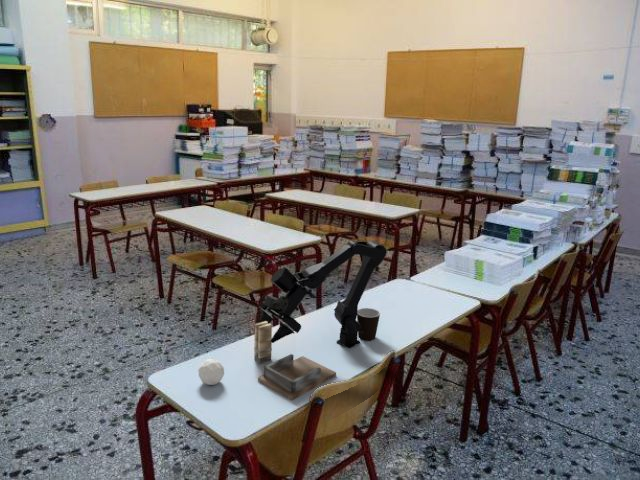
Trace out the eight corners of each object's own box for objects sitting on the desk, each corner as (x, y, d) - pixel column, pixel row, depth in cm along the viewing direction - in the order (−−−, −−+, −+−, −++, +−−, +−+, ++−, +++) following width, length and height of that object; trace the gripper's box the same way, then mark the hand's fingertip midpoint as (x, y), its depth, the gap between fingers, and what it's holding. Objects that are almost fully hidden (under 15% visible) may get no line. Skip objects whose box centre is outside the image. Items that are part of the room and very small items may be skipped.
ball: (210, 394, 156) (200, 383, 150) (200, 375, 161) (190, 363, 155) (231, 379, 158) (222, 368, 152) (221, 361, 163) (211, 349, 157)
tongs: (265, 355, 175) (266, 320, 172) (271, 360, 173) (272, 324, 169) (254, 359, 173) (254, 324, 169) (259, 364, 170) (259, 328, 167)
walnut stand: (302, 359, 174) (303, 346, 173) (336, 375, 164) (336, 362, 163) (257, 380, 160) (258, 367, 159) (291, 400, 150) (292, 385, 149)
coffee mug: (377, 343, 188) (378, 318, 185) (353, 340, 189) (355, 315, 187) (379, 330, 199) (381, 306, 196) (357, 327, 200) (359, 304, 198)
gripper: (264, 278, 177) (235, 315, 173) (294, 295, 163) (264, 335, 159) (282, 295, 184) (255, 331, 180) (313, 313, 169) (284, 352, 166)
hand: (264, 336), depth 171 cm, fingers open, 9 cm apart
